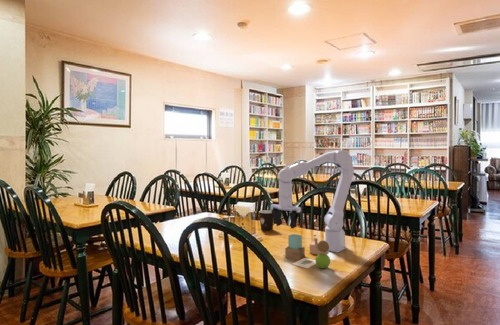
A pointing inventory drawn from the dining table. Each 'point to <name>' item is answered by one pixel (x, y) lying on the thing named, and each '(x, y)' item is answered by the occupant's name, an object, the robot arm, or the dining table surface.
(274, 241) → the dining table surface
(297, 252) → the walnut base brick
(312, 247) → the terracotta brick
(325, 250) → the snail figurine
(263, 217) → the coffee mug
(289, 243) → the teal brick
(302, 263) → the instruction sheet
